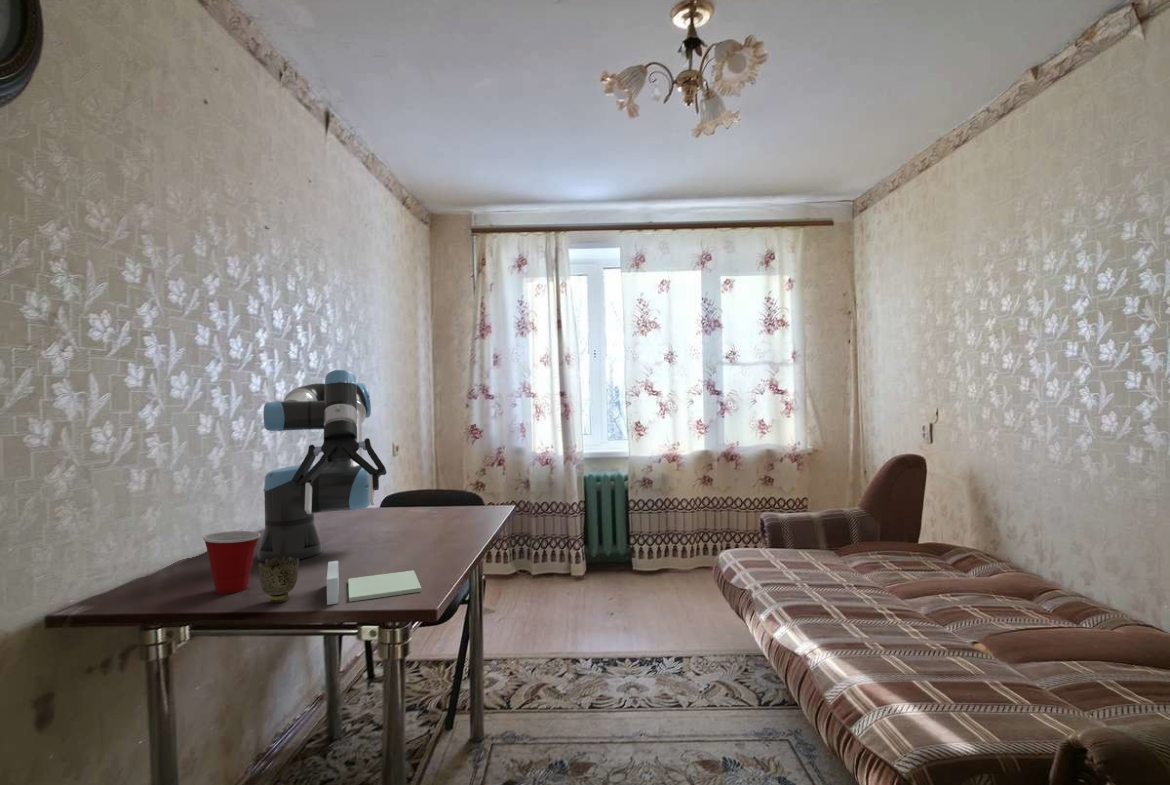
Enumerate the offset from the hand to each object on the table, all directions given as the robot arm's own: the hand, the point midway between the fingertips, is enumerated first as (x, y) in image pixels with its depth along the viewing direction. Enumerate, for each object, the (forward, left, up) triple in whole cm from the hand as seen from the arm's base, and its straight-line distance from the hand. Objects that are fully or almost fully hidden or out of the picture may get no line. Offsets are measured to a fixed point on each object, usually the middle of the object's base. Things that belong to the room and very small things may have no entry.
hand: (340, 507), depth 132 cm
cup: (+10, -12, -16) cm, 23 cm away
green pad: (+10, +8, -16) cm, 21 cm away
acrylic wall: (+10, -2, -16) cm, 19 cm away
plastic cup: (-3, -22, -16) cm, 27 cm away
